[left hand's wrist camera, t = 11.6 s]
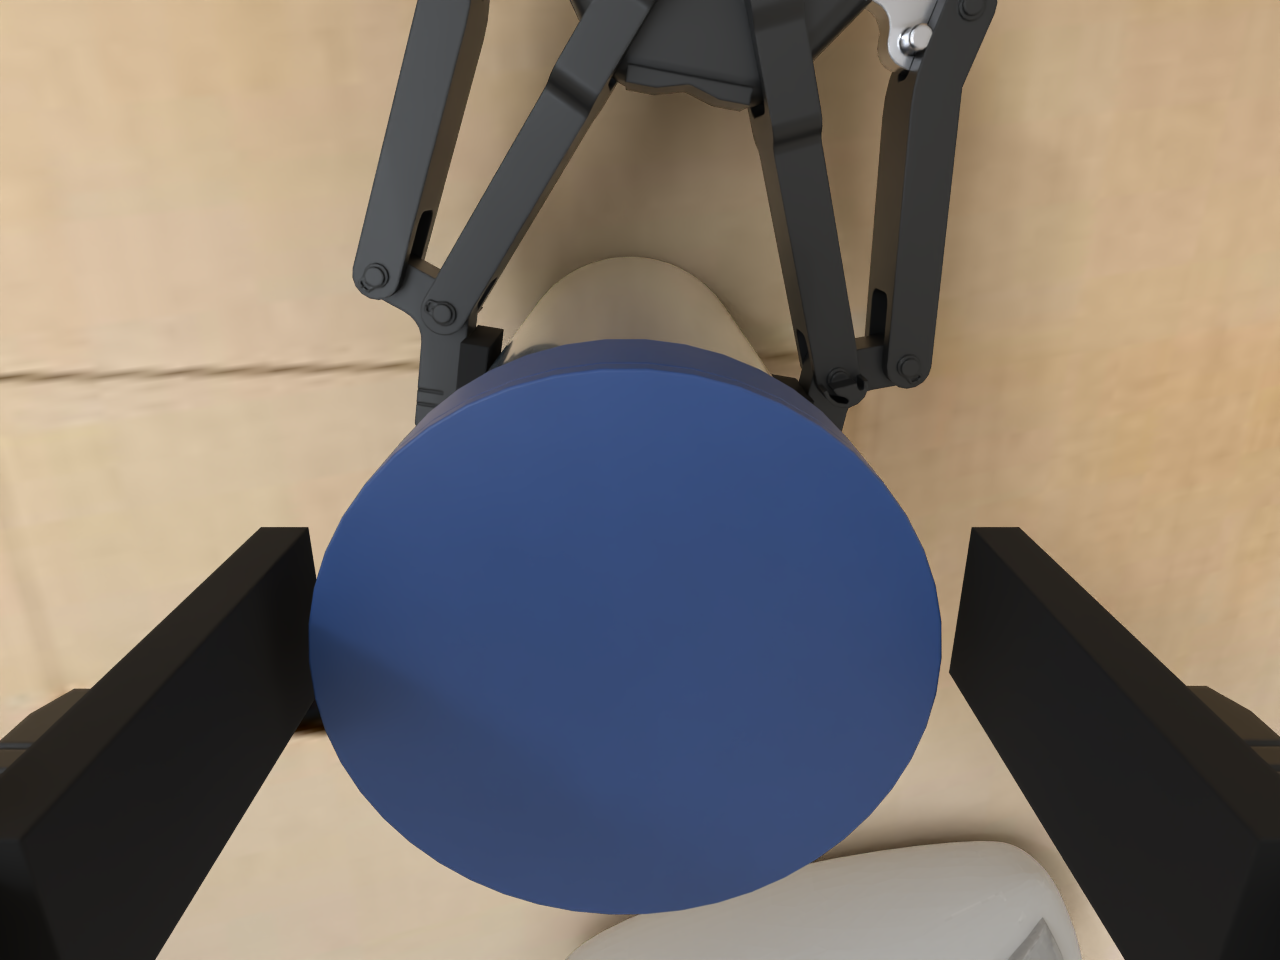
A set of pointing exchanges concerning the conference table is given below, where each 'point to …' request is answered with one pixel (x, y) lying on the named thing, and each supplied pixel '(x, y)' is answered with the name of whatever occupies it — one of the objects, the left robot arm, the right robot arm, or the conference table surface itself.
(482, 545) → the lid
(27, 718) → the left robot arm
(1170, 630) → the conference table surface
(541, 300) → the jar
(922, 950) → the projector
